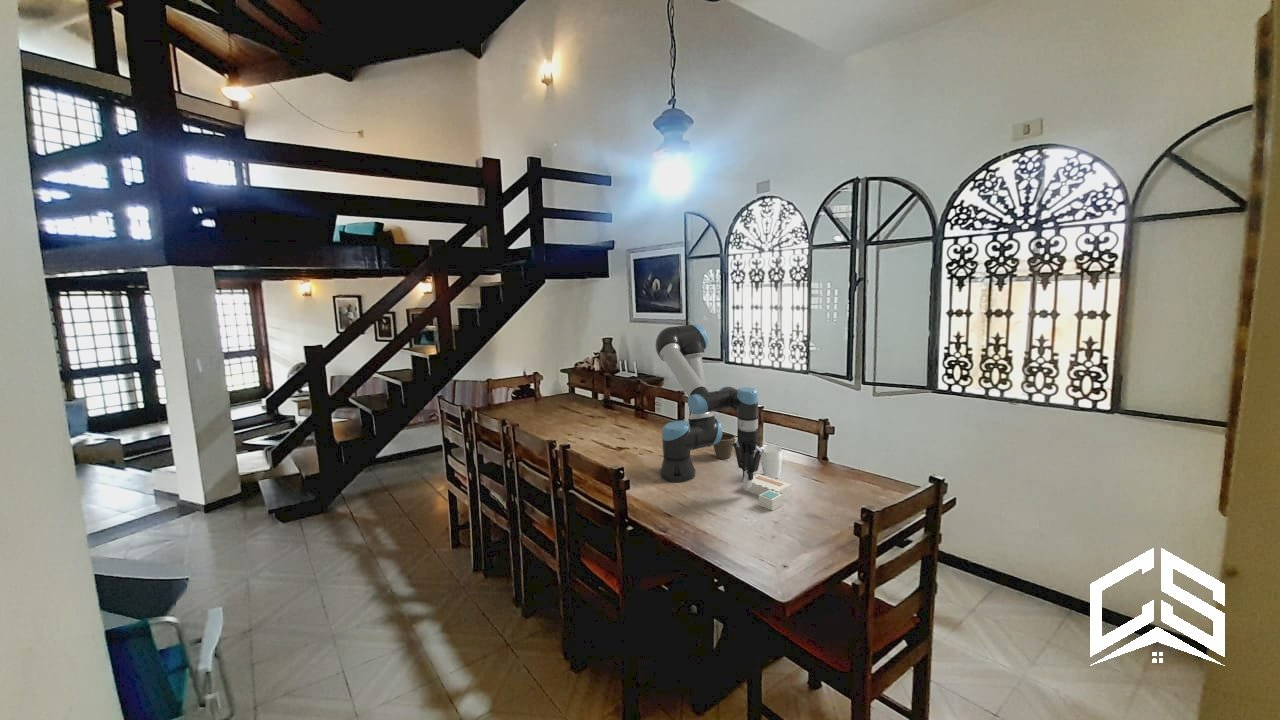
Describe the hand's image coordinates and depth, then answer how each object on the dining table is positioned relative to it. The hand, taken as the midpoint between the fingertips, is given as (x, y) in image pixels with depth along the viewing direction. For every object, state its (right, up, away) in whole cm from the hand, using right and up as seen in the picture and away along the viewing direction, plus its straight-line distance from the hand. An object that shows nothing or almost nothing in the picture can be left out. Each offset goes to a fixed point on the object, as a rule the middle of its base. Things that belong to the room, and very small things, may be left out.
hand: (748, 486), depth 203 cm
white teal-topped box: (+7, -5, -8) cm, 12 cm away
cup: (+14, 0, +19) cm, 23 cm away
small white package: (+8, -3, +4) cm, 10 cm away
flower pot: (-2, +3, +44) cm, 44 cm away
